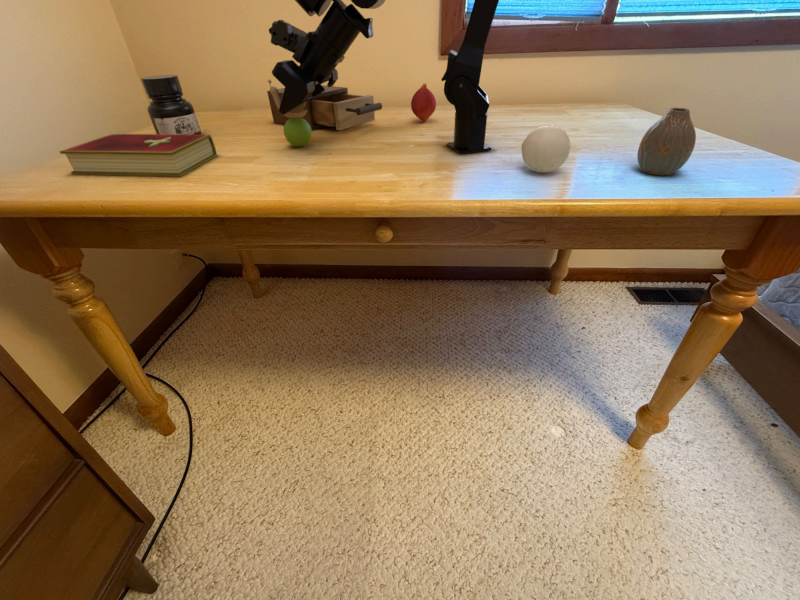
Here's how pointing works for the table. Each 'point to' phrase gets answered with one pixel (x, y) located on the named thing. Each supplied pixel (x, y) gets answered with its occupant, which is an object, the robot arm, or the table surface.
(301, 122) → the snail figurine
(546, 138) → the beige round ball
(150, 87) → the ink bottle
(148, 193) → the table surface
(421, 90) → the onion
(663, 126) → the vase
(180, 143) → the hardcover book
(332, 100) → the drawer
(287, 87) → the robot arm
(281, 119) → the cabinet
